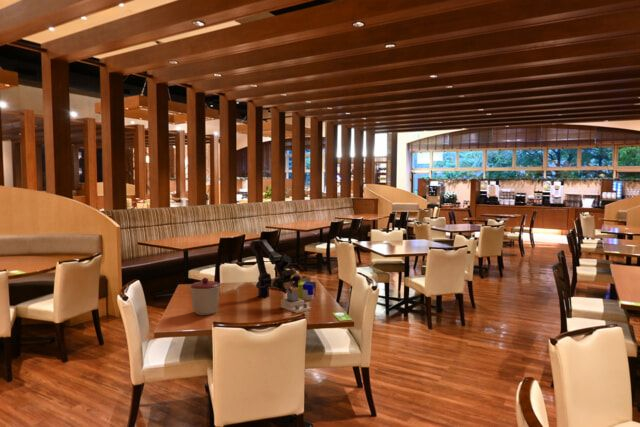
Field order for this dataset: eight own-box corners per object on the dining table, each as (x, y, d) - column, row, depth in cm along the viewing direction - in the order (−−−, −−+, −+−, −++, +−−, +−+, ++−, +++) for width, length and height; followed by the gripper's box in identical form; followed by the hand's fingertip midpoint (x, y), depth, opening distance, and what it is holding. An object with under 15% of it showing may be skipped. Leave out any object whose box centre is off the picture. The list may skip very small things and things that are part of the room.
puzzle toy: (312, 300, 293) (312, 285, 292) (297, 299, 295) (297, 284, 294) (315, 296, 303) (315, 282, 302) (301, 295, 305) (301, 281, 304)
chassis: (280, 306, 276) (280, 299, 276) (294, 303, 283) (294, 297, 282) (296, 313, 263) (296, 305, 263) (310, 309, 270) (311, 302, 270)
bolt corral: (269, 287, 327) (269, 279, 326) (284, 281, 348) (284, 273, 348) (296, 290, 318) (296, 282, 317) (310, 284, 339) (310, 276, 339)
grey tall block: (287, 304, 276) (287, 287, 275) (293, 303, 279) (293, 286, 278) (291, 306, 272) (291, 288, 271) (298, 305, 275) (298, 287, 274)
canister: (222, 316, 255) (222, 280, 254) (189, 318, 250) (189, 281, 249) (220, 307, 273) (219, 274, 271) (189, 309, 268) (189, 275, 266)
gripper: (275, 265, 272) (285, 287, 264) (299, 262, 284) (309, 282, 276) (268, 276, 279) (277, 297, 271) (292, 272, 291) (301, 292, 283)
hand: (292, 292), depth 275 cm, fingers open, 9 cm apart
